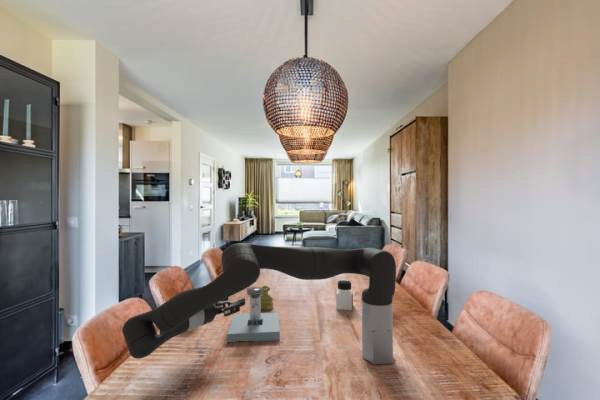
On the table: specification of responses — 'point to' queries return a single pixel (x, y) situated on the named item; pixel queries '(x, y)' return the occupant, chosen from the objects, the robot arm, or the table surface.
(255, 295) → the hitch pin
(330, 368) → the table surface
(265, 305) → the brass weight
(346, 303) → the medicine bottle
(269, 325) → the socket board
